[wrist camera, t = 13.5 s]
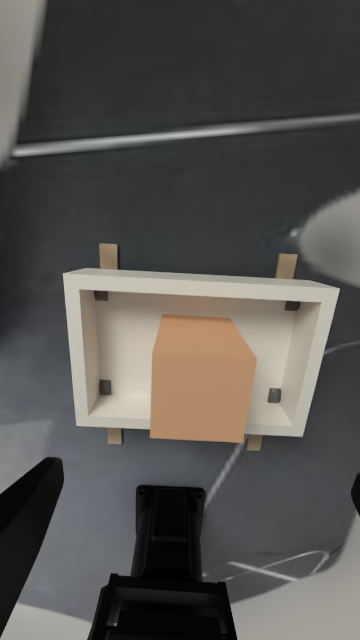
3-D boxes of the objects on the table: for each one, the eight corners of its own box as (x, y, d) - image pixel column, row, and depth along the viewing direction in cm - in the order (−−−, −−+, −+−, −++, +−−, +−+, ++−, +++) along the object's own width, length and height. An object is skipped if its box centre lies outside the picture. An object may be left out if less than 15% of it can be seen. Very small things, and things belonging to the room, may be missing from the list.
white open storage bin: (278, 399, 20) (302, 436, 16) (97, 390, 20) (76, 425, 16) (303, 278, 17) (339, 288, 13) (90, 267, 17) (63, 273, 13)
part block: (222, 377, 17) (243, 442, 12) (160, 374, 17) (149, 438, 12) (230, 318, 16) (257, 358, 10) (162, 314, 16) (152, 352, 10)
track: (259, 448, 22) (260, 450, 22) (108, 441, 22) (107, 443, 21) (296, 254, 17) (297, 254, 17) (100, 243, 17) (99, 243, 16)
